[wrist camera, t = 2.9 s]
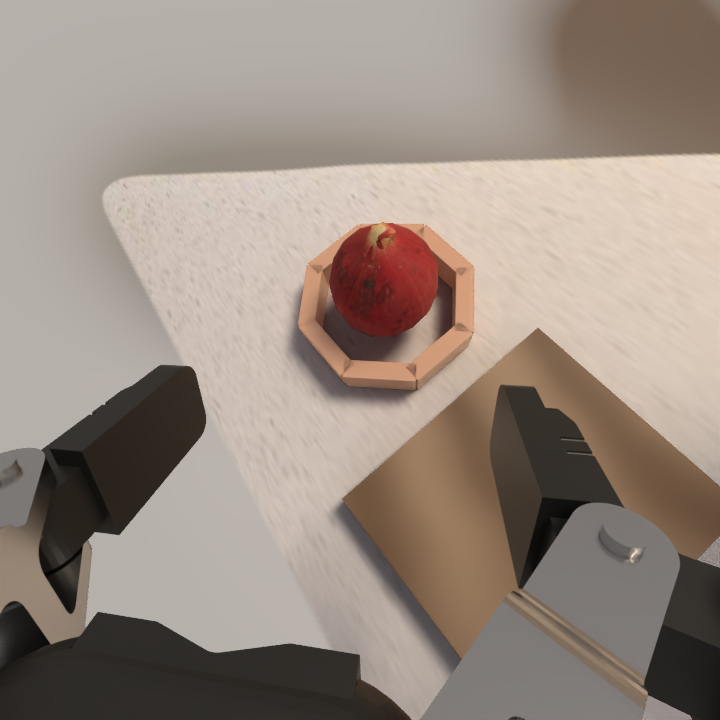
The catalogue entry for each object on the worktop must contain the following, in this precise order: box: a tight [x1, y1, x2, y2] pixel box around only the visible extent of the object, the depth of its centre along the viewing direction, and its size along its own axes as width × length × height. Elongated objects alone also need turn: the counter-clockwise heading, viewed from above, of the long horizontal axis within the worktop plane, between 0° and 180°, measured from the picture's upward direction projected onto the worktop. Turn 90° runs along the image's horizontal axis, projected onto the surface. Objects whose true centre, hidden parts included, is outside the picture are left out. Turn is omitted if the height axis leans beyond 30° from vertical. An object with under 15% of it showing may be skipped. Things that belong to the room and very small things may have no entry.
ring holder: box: [298, 224, 474, 390], centre depth 23 cm, size 10×10×2 cm
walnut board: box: [342, 328, 720, 659], centre depth 19 cm, size 14×12×2 cm
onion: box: [329, 222, 438, 336], centre depth 20 cm, size 6×6×8 cm
